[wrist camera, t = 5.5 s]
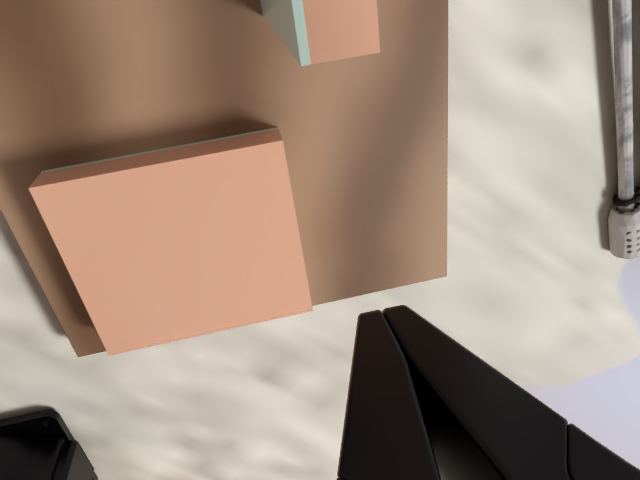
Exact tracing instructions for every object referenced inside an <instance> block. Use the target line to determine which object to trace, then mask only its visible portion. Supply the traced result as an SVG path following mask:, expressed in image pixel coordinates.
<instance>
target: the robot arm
mask: <svg viewBox="0 0 640 480" xmlns="http://www.w3.org/2000/svg"><path fill="white" fill-rule="evenodd" d="M337 475H338V478H337V480H640V470H639V469H638V468H636V467H635V466H633V465H631V464H630V463H628V462H627V461H625V460H624V459H623V458H621V457H620V456H618V455H617V454H615V453H614V452H612V451H611V450H609V449H608V448H606V447H605V446H603V445H602V444H600V443H599V442H597V441H596V440H595V439H593V438H592V437H590V436H589V435H587V434H586V433H585V432H583V431H582V430H580V429H579V428H578V427H576V426H575V425H573V424H568V422H567V420H566V419H565V418H563V417H562V416H560V415H559V414H558V413H556V412H555V411H553V410H552V409H551V408H549V407H548V406H546V405H545V404H544V403H542V402H541V401H539V400H538V399H537V398H535V397H534V396H532V395H531V394H530V393H528V392H527V391H525V390H524V389H523V388H521V387H520V386H518V385H517V384H515V383H514V382H513V381H511V380H510V379H508V378H507V377H506V376H504V375H503V374H501V373H500V372H499V371H497V370H496V369H494V368H493V367H492V366H490V365H489V364H487V363H486V362H485V361H483V360H482V359H480V358H479V357H478V356H476V355H475V354H473V353H472V352H471V351H469V350H468V349H466V348H465V347H464V346H462V345H461V344H459V343H458V342H456V341H455V340H454V339H452V338H451V337H449V336H448V335H447V334H445V333H444V332H442V331H441V330H440V329H438V328H437V327H435V326H434V325H433V324H431V323H430V322H428V321H427V320H426V319H424V318H423V317H421V316H420V315H419V314H417V313H416V312H414V311H413V310H412V309H410V308H409V307H407V306H405V305H400V306H395V307H390V308H386V309H384V310H383V311H382V312H381V311H380V310H375V311H371V312H366V313H361V314H360V315H359V316H358V322H357V329H356V337H355V344H354V352H353V360H352V367H351V375H350V382H349V390H348V398H347V405H346V413H345V420H344V428H343V436H342V443H341V451H340V458H339V466H338V474H337ZM0 480H98V477H97V476H96V474H95V472H94V468H93V466H92V464H91V463H90V461H89V459H88V458H87V456H86V454H85V453H84V451H83V449H82V448H81V446H80V444H79V443H78V442H77V441H76V440H75V439H74V438H73V436H72V434H71V433H70V431H69V429H68V428H67V426H66V424H65V423H64V421H63V419H62V418H61V416H60V414H59V413H58V412H56V411H52V410H46V411H42V412H37V413H33V414H28V415H24V416H20V417H15V418H11V419H7V420H2V421H0Z"/></svg>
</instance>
